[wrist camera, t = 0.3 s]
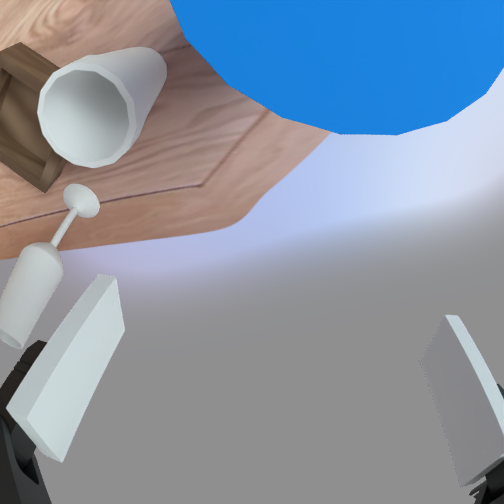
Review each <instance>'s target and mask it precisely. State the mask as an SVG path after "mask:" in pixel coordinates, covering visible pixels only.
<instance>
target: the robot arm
mask: <svg viewBox="0 0 504 504" xmlns="http://www.w3.org/2000/svg"><path fill="white" fill-rule="evenodd" d="M124 331H125V327H124V322H123V316H122V311H121V305H120V298H119V292H118V286H117V278H116V276H110V275H104V274H98V276H97V277H96V278H95V280H94V281H93V282H92V283H91V284H90V286H89V287H88V288H87V290H86V291H85V292H84V293H83V295H82V296H81V297H80V299H79V300H78V301H77V303H76V304H75V305H74V307H73V308H72V309H71V311H70V312H69V314H68V315H67V316H66V318H65V319H64V320H63V322H62V323H61V324H60V326H59V327H58V329H57V330H56V331H55V333H54V334H53V336H52V337H51V338H50V340H49V341H48V343H46V342H43V341H40V340H38V341H37V342H35V343H34V344H33V345H31V346H30V347H28V348H27V350H26V351H25V352H24V354H23V355H22V357H21V358H20V361H19V362H17V364H16V365H15V367H14V370H13V371H11V373H10V374H9V376H8V377H7V379H6V380H5V382H4V383H3V385H2V387H1V388H0V504H52V503H51V501H50V498H49V495H48V493H47V490H46V487H45V484H44V481H43V479H42V475H41V473H40V469H39V466H38V463H37V460H36V457H35V455H34V451H35V448H36V447H37V448H38V449H39V450H40V451H41V452H42V453H43V454H44V455H46V456H48V457H50V458H53V459H55V460H57V461H59V462H63V460H64V458H65V455H66V453H67V451H68V448H69V446H70V444H71V441H72V439H73V437H74V434H75V432H76V430H77V428H78V425H79V423H80V421H81V419H82V416H83V414H84V412H85V410H86V408H87V406H88V403H89V401H90V399H91V397H92V395H93V393H94V391H95V388H96V386H97V384H98V382H99V380H100V378H101V376H102V374H103V372H104V370H105V368H106V366H107V364H108V362H109V360H110V358H111V356H112V354H113V352H114V350H115V348H116V346H117V345H118V343H119V340H120V339H121V337H122V335H123V333H124ZM419 363H420V365H421V368H422V370H423V373H424V375H425V378H426V381H427V383H428V386H429V389H430V391H431V394H432V397H433V400H434V402H435V405H436V408H437V411H438V414H439V417H440V420H441V423H442V426H443V429H444V433H445V436H446V439H447V442H448V445H449V449H450V452H451V456H452V459H453V463H454V466H455V470H456V473H457V478H458V481H459V485H460V487H463V486H467V485H470V484H473V483H475V482H477V481H478V480H479V479H481V478H482V477H484V476H486V481H484V482H483V483H482V484H480V485H479V486H477V487H476V488H474V489H473V490H472V491H471V492H470V494H469V495H473V494H474V493H476V492H477V491H479V493H477V494H476V495H475V496H474V498H476V501H475V503H474V504H504V389H503V388H502V387H501V386H500V385H499V384H496V382H495V380H494V378H493V377H492V375H491V373H490V371H489V369H488V367H487V365H486V363H485V361H484V360H483V358H482V356H481V354H480V352H479V350H478V349H477V347H476V345H475V344H474V342H473V340H472V338H471V336H470V335H469V333H468V331H467V330H466V328H465V326H464V325H463V323H462V321H461V320H460V318H459V317H458V316H456V315H444V317H443V319H442V321H441V323H440V325H439V327H438V329H437V330H436V332H435V334H434V336H433V338H432V340H431V341H430V343H429V345H428V347H427V348H426V350H425V352H424V353H423V355H422V357H421V358H420V360H419Z"/></svg>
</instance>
